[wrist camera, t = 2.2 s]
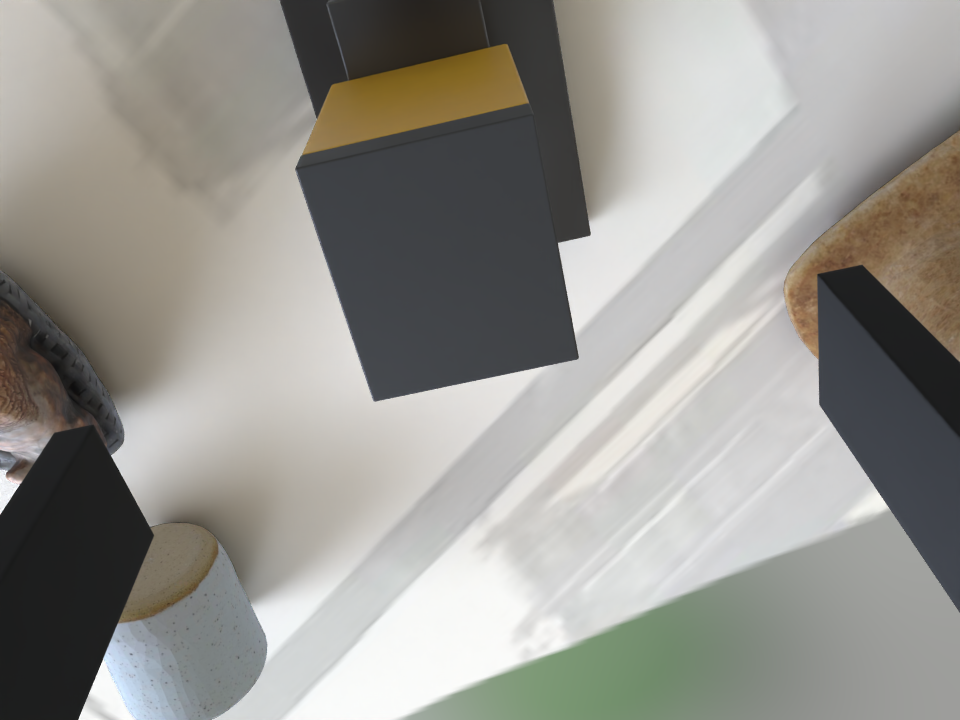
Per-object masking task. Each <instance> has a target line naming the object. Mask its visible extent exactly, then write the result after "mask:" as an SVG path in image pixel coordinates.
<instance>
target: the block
mask: <svg viewBox="0 0 960 720" xmlns="http://www.w3.org/2000/svg"><path fill="white" fill-rule="evenodd" d="M295 170H296V173H297V176H298V179H299V182H300V185H301V188H302V191H303V194H304V197H305V200H306V203H307V206H308V209H309V212H310V215H311V218H312V221H313V224H314V227H315V230H316V233H317V235H318V238H319V241H320V244H321V247H322V250H323V253H324V256H325V259H326V262H327V265H328V268H329V271H330V274H331V277H332V280H333V283H334V286H335V289H336V292H337V295H338V298H339V301H340V304H341V307H342V310H343V312H344V315H345V318H346V321H347V324H348V327H349V330H350V333H351V336H352V339H353V342H354V345H355V348H356V351H357V354H358V357H359V360H360V363H361V366H362V369H363V372H364V375H365V378H366V381H367V384H368V387H369V390H370V392H371V395H372V398H373V401H380V400H385V399H390V398H395V397H399V396H404V395H409V394H414V393H419V392H423V391H428V390H433V389H438V388H442V387H447V386H452V385H457V384H462V383H466V382H471V381H476V380H481V379H486V378H490V377H495V376H500V375H505V374H510V373H514V372H519V371H524V370H529V369H533V368H538V367H543V366H548V365H553V364H557V363H562V362H567V361H572V360H577V359H578V358H579V356H578V351H577V345H576V340H575V334H574V329H573V323H572V318H571V313H570V307H569V302H568V296H567V291H566V286H565V280H564V275H563V269H562V264H561V258H560V253H559V248H558V242H557V237H556V231H555V226H554V220H553V215H552V210H551V204H550V199H549V193H548V188H547V183H546V177H545V172H544V166H543V161H542V155H541V150H540V145H539V139H538V134H537V128H536V123H535V117H534V114H533V111H532V108H531V106H530V104H529V101H528V98H527V96H526V93H525V90H524V88H523V85H522V82H521V79H520V77H519V74H518V71H517V69H516V66H515V63H514V60H513V58H512V55H511V52H510V50H509V47H508V45H507V44H502V45H498V46H494V47H489V48H485V49H481V50H477V51H473V52H468V53H464V54H460V55H456V56H451V57H447V58H443V59H439V60H434V61H430V62H426V63H422V64H417V65H413V66H409V67H405V68H400V69H396V70H392V71H388V72H383V73H379V74H375V75H371V76H366V77H362V78H358V79H354V80H350V81H345V82H341V83H337V84H333V85H332V86H331V88H330V90H329V93H328V95H327V97H326V100H325V102H324V104H323V107H322V109H321V111H320V114H319V116H318V119H317V121H316V123H315V126H314V128H313V130H312V133H311V135H310V137H309V140H308V142H307V145H306V147H305V149H304V152H303V154H302V156H301V157H300V159H299V161H298V164H297V166H296V169H295Z"/></svg>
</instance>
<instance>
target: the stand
mask: <svg viewBox="0 0 960 720" xmlns="http://www.w3.org/2000/svg"><path fill="white" fill-rule="evenodd" d="M280 3H281V6H282V10H283V13H284V16H285V19H286V22H287V25H288V29H289V32H290V35H291V38H292V41H293V45H294V48H295V51H296V54H297V57H298V60H299V64H300V67H301V70H302V73H303V76H304V80H305V83H306V86H307V89H308V92H309V95H310V99H311V102H312V105H313V108H314V111H315V114H316V118H317V119H318V116H319V114H320V111H321V109H322V107H323V104H324V102H325V100H326V97H327V95H328V93H329V90H330V88H331V86H332V85H333V84H337V83H341V82H345V81H350V80H354V79H358V78H362V77H366V76H371V75H375V74H379V73H383V72H388V71H392V70H396V69H400V68H405V67H409V66H413V65H417V64H422V63H426V62H430V61H434V60H439V59H443V58H447V57H451V56H456V55H460V54H464V53H468V52H473V51H477V50H481V49H485V48H489V47H494V46H498V45H502V44H507V45H508V47H509V50H510V52H511V55H512V58H513V60H514V63H515V66H516V69H517V71H518V74H519V77H520V79H521V82H522V85H523V88H524V90H525V93H526V96H527V98H528V101H529V104H530V106H531V108H532V111H533V114H534V117H535V123H536V128H537V134H538V139H539V145H540V150H541V155H542V161H543V166H544V172H545V177H546V183H547V188H548V193H549V199H550V204H551V210H552V215H553V220H554V226H555V231H556V237H557V242H558V243H559V242H563V241H568V240H573V239H577V238H582V237H586V236H590V235H591V232H590V226H589V220H588V214H587V208H586V202H585V195H584V189H583V183H582V177H581V171H580V165H579V158H578V152H577V146H576V140H575V134H574V128H573V121H572V115H571V109H570V103H569V97H568V91H567V84H566V78H565V72H564V66H563V60H562V54H561V47H560V41H559V35H558V29H557V23H556V17H555V11H554V4H553V0H280Z"/></svg>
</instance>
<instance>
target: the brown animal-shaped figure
mask: <svg viewBox="0 0 960 720" xmlns="http://www.w3.org/2000/svg"><path fill="white" fill-rule="evenodd" d="M93 424H94V426H95V428H96V430H97V431H98V433H99V435H100V437H101V439H102V441H103V442H104V444H105V446H106V448H107V450H108V452H109V453H110V455H112V454H113V453H114V452H115V451H117V450H118V449H119V448H120V446H121V445H122V444H123V442H124V430H123V426H122V423H121V420H120V418H119V416H118V413H117V411H116V409H115V406H114V404H113V402H112V400H111V398H110V395H109V394H108V392H107V390H106V389H105V387H104V386H103V384H102V383H101V381H100V380H99V378H98V377H97V375H96V373H95V372H94V370H93V368H92V367H91V365H90V363H89V361H88V360H87V358H86V357H85V355H84V354H83V352H82V351H81V350H80V349H79V348H78V346H77V345H76V344H75V343H74V342H73V341H72V340H71V339H70V338H69V337H68V336H67V335H66V334H65V333H64V332H62V331H61V330H60V329H59V328H58V327H57V326H56V325H55V323H54V322H53V321H52V320H51V319H50V318H49V317H48V316H47V315H46V313H45V312H44V311H43V310H42V309H41V308H40V307H39V306H38V305H37V304H36V303H35V302H34V301H33V300H32V299H31V298H30V297H29V296H28V295H27V294H26V293H25V292H24V291H23V290H22V289H21V288H20V287H19V286H18V285H17V284H16V283H15V282H14V281H13V280H12V279H11V278H10V277H9V276H8V275H6V274H5V273H4V272H2V271H0V469H3V470H8V472H7V473H6V478H7V479H8V480H9V481H11V482H13V483H16V484H21V483H22V481H23V480H24V478H25V476H26V475H27V473H28V472H29V470H30V469H31V467H32V466H33V464H34V463H35V461H36V460H37V458H38V457H39V455H40V454H41V452H42V451H43V449H44V447H45V446H46V444H47V443H48V441H49V440H50V438H51V437H52V435H53V434H54V433H55V432H60V431H64V430H69V429H74V428H79V427H84V426H89V425H93Z"/></svg>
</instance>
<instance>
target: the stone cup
mask: <svg viewBox="0 0 960 720" xmlns="http://www.w3.org/2000/svg"><path fill="white" fill-rule="evenodd" d="M858 265H863V266H864V267H865V268H866V269H867V270H868V271H869V272H870V273H871V274H872V275H873V276H874V277H875V278H876V279H877V280H878V281H879V282H880V283H881V284H882V285H883V286H884V287H885V288H886V289H887V290H888V291H889V292H890V293H891V294H892V295H893V296H894V297H895V298H896V299H897V300H898V301H899V302H900V303H901V304H902V305H903V306H904V307H905V308H906V309H907V310H908V311H909V312H910V313H911V314H912V315H913V316H914V317H915V318H916V319H917V320H918V321H919V322H920V323H921V324H922V325H923V326H924V327H925V328H926V329H927V330H928V331H929V332H930V333H931V334H932V335H933V336H934V337H935V338H936V339H937V340H938V341H939V342H940V343H941V344H942V345H943V346H944V347H945V348H946V349H947V350H948V351H949V352H950V353H951V354H952V355H953V356H954V357H955V358H956V359H957V360H958V361H959V362H960V130H959V131H958V132H956V133H955V134H953V135H952V136H950V137H949V138H948V139H947V140H945V141H944V142H943V143H941V144H940V145H938V146H937V147H935V148H934V149H932V150H931V151H929V152H928V153H927V154H925V155H924V156H923V157H921V158H920V159H919V160H918V161H916V162H915V163H913V164H912V165H911V166H909V167H908V168H907V169H905V170H904V171H902V172H901V173H900V174H898V175H897V176H896V177H894V178H893V179H892V180H890V181H889V182H888V183H886V184H885V185H884V186H882V187H881V188H880V189H879V190H877V191H876V192H875V193H873V194H872V195H871V196H870V197H868V198H867V199H866V200H864V201H863V202H862V203H861V204H859V205H858V206H857V207H856V208H854V209H853V210H852V211H851V212H850V213H848V214H847V215H846V216H845V217H843V218H842V219H841V220H840V221H839V222H837V223H836V224H835V225H834V226H832V227H831V228H830V229H829V230H827V231H826V232H825V233H824V234H823V235H821V236H820V237H819V238H818V239H817V240H816V241H815V242H813V244H812V245H811V246H810V247H809V248H808V249H807V250H806V251H805V252H804V253H803V254H802V255H801V257H800V258H799V259H798V260H797V261H796V262H795V264H794V265H793V266H792V267H791V268H790V270H789V272H788V274H787V277H786V279H785V282H784V297H785V302H786V307H787V310H788V314H789V317H790V319H791V321H792V323H793V325H794V327H795V329H796V331H797V333H798V336H799V337H800V339H801V340H802V341H803V342H804V344H805V345H806V346H807V347H808V349H809V350H810V351H811V352H812V354H813V355H814V356H815V357H816V358H817V359H818V360H819V351H818V294H817V274H820V273H824V272H829V271H834V270H839V269H844V268H849V267H853V266H858Z"/></svg>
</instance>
